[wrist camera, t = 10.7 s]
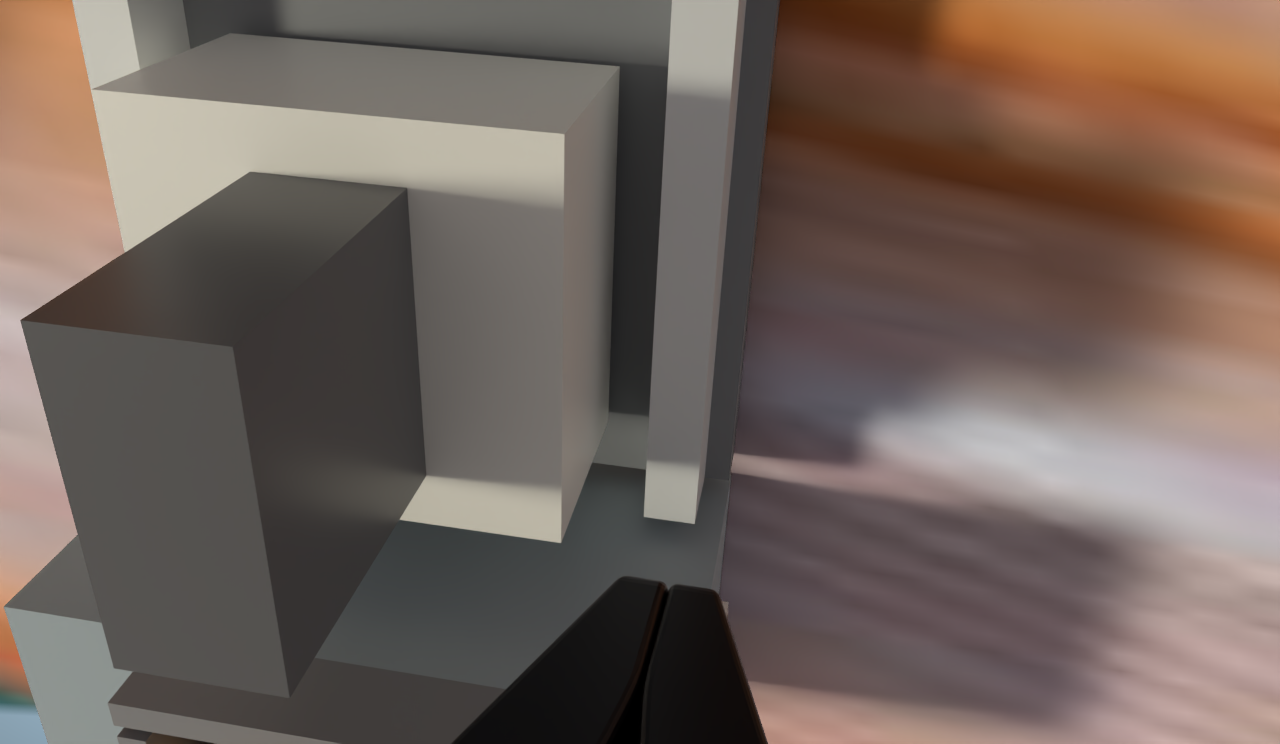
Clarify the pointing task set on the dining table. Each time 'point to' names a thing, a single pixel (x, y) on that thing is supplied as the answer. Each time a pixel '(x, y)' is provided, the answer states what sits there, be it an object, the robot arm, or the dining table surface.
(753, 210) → the rail track
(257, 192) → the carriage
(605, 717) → the robot arm
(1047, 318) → the dining table surface
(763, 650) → the dining table surface
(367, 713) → the cabinet
